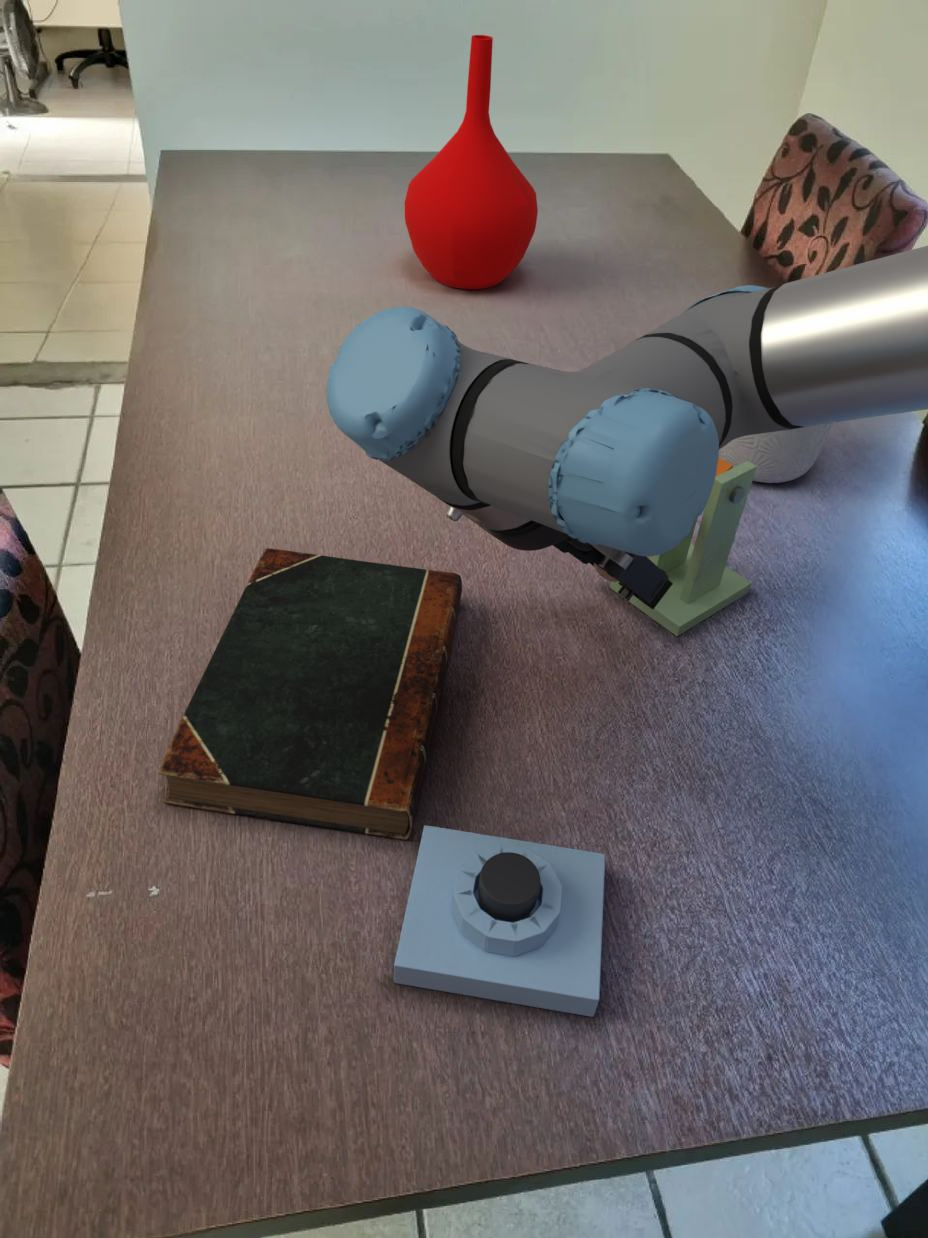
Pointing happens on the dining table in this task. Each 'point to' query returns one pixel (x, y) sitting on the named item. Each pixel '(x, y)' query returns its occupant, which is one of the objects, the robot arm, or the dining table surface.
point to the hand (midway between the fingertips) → (640, 580)
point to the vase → (471, 196)
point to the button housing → (504, 925)
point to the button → (509, 886)
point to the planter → (778, 452)
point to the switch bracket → (703, 559)
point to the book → (319, 696)
